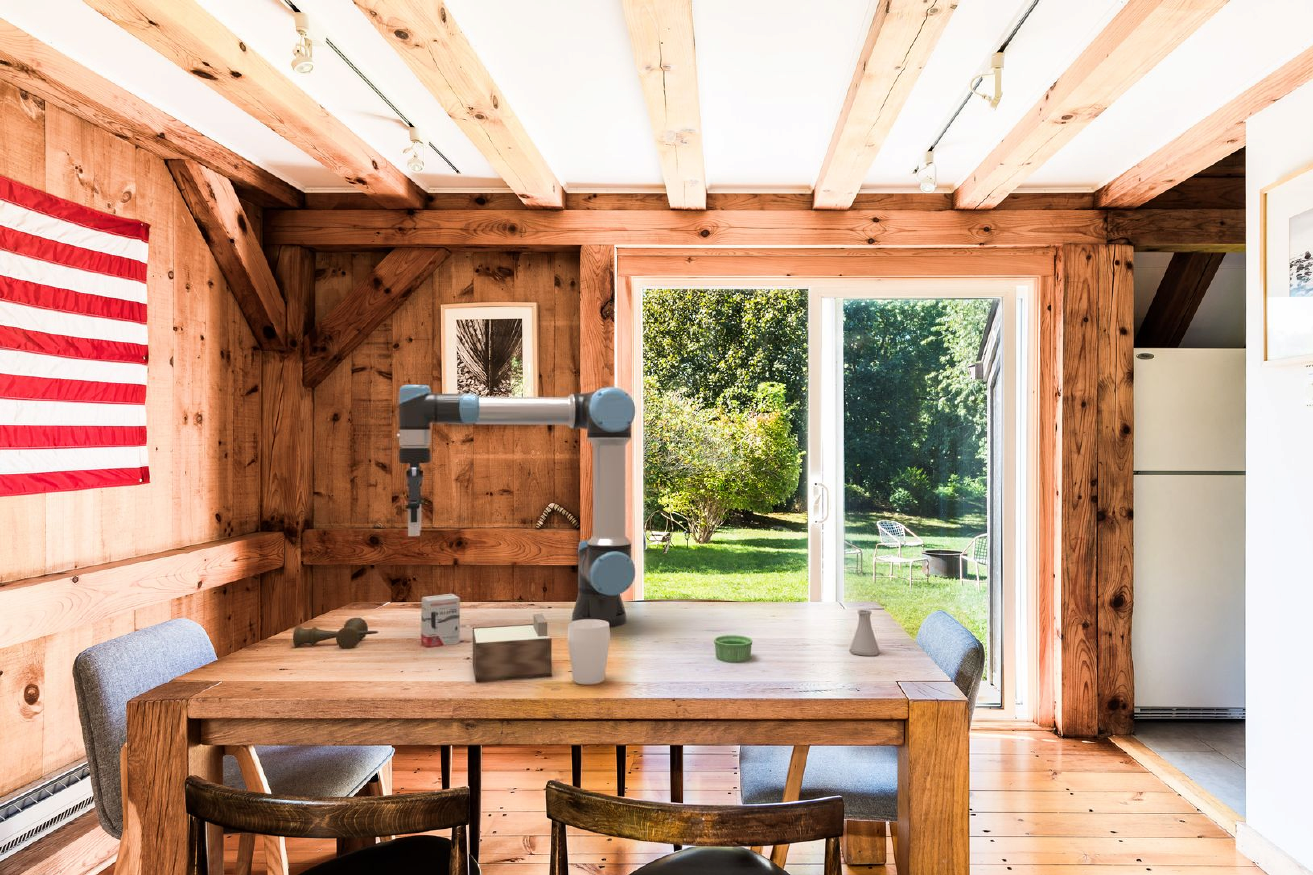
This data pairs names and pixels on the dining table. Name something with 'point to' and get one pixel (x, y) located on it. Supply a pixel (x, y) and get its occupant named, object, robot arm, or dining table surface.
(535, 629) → the lid
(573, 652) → the cup
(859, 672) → the dining table surface
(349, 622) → the kendama
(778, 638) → the dining table surface
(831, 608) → the dining table surface
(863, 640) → the flask
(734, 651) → the ramekin
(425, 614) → the ink box
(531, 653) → the box
